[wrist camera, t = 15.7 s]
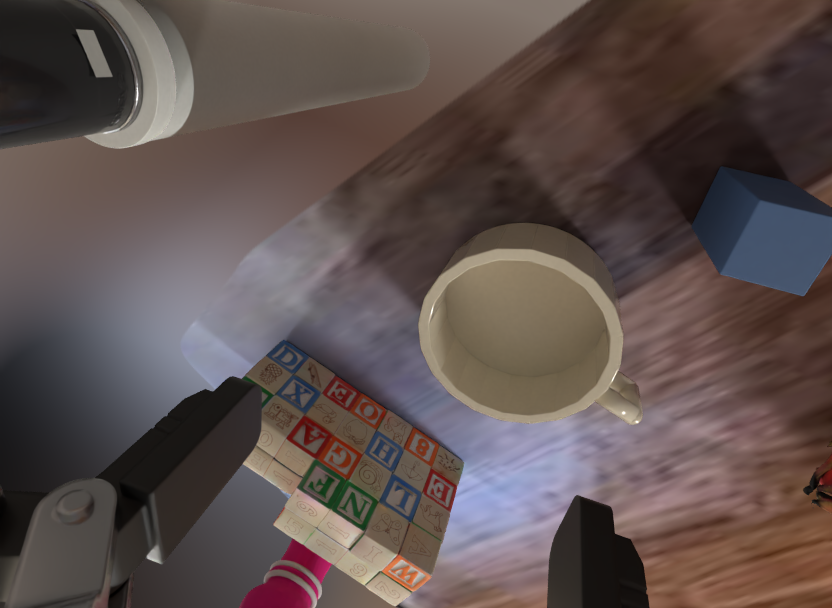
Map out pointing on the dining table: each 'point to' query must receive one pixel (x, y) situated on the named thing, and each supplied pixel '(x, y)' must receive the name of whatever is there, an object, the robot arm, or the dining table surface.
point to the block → (764, 230)
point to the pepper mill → (290, 581)
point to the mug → (528, 327)
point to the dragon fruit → (822, 485)
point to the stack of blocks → (352, 475)
